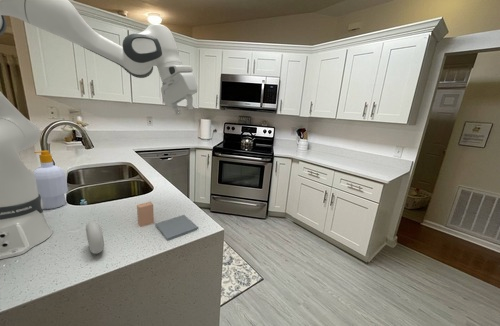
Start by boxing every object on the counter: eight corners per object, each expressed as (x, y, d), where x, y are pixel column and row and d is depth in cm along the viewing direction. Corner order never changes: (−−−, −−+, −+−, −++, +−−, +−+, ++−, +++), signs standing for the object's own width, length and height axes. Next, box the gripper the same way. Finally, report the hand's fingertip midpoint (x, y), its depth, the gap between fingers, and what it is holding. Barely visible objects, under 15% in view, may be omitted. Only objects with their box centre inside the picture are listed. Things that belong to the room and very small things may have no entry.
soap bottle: (33, 206, 88) (21, 150, 82) (63, 198, 97) (55, 147, 91) (43, 213, 84) (32, 154, 78) (74, 204, 92) (66, 151, 87)
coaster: (167, 240, 72) (167, 238, 72) (155, 225, 81) (154, 223, 80) (198, 229, 80) (198, 227, 80) (184, 216, 89) (184, 214, 88)
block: (140, 226, 79) (139, 207, 77) (138, 223, 81) (136, 204, 79) (154, 222, 83) (153, 204, 81) (151, 219, 85) (150, 201, 83)
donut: (87, 245, 67) (83, 217, 65) (100, 241, 70) (96, 214, 67) (92, 262, 60) (88, 231, 58) (106, 257, 63) (103, 227, 60)
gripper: (153, 84, 81) (165, 119, 84) (177, 64, 67) (190, 107, 69) (168, 83, 85) (179, 116, 88) (194, 64, 71) (205, 104, 74)
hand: (184, 112), depth 79 cm, fingers open, 8 cm apart
